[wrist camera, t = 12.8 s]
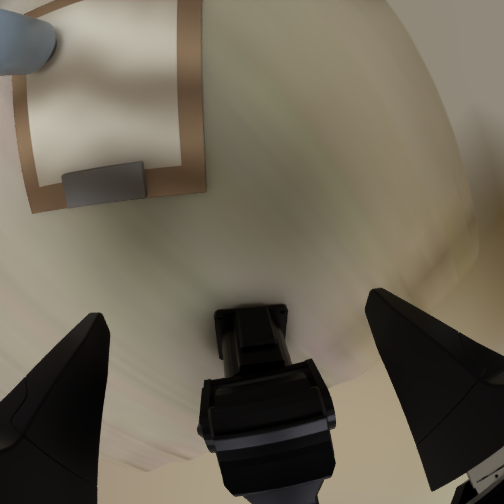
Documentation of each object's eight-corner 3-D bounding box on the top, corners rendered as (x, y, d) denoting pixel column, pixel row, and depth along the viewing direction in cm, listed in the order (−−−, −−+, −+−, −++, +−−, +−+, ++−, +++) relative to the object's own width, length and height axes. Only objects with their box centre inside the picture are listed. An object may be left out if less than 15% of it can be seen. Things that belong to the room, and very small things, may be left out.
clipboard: (206, 189, 20) (206, 195, 18) (35, 210, 18) (27, 217, 17) (203, -30, 11) (202, -37, 10) (19, 19, 10) (10, 17, 9)
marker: (65, 65, 13) (-27, 62, 5) (22, 81, 12) (-71, 95, 4) (66, 17, 11) (-16, -12, 3) (23, 35, 10) (-64, 27, 2)
